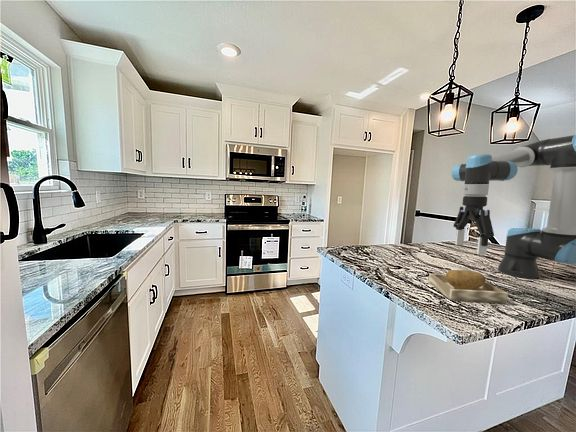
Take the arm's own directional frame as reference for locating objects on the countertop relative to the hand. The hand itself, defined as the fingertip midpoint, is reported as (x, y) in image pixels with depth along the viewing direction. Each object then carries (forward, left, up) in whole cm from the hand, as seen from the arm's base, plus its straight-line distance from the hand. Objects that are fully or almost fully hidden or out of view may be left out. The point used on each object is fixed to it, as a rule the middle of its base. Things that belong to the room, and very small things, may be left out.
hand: (469, 249), depth 97 cm
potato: (0, 0, -17) cm, 17 cm away
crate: (0, 0, -18) cm, 18 cm away
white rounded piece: (-8, -16, -18) cm, 25 cm away
